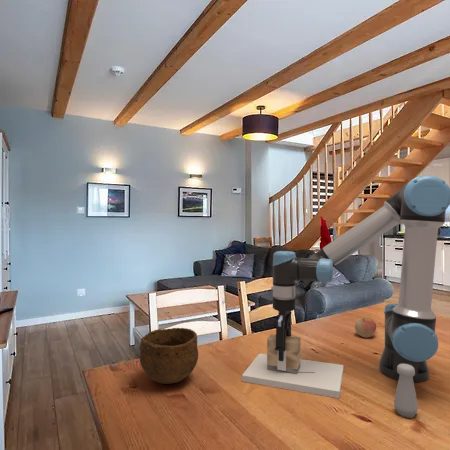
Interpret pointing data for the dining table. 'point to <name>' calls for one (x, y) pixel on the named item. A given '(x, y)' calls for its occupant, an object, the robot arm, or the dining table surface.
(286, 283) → the robot arm
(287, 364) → the block
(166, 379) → the bowl
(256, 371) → the board
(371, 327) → the apple
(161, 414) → the dining table surface
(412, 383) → the salt shaker
